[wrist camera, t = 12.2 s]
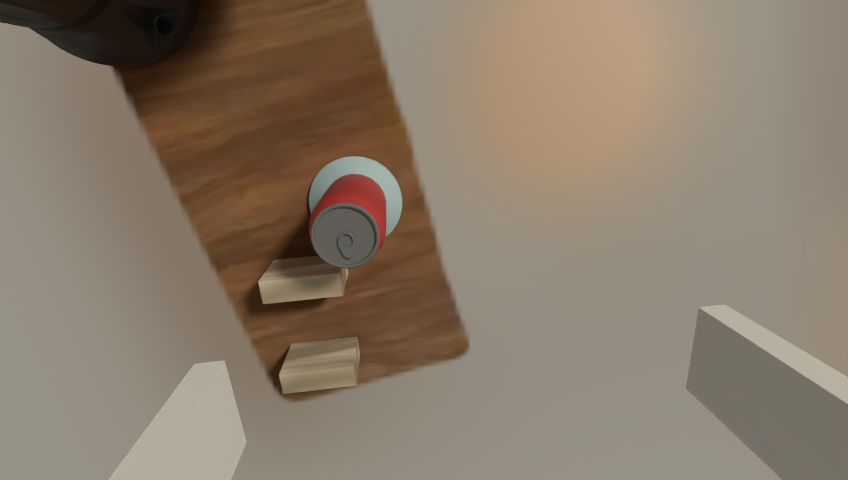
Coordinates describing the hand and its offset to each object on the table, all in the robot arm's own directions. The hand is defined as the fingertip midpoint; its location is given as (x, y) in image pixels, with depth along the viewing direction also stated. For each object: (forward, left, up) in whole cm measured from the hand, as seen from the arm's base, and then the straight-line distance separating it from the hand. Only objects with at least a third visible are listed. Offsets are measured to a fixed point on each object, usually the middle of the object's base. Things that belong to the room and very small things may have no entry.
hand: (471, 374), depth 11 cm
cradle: (+15, -12, -35) cm, 40 cm away
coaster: (+2, -6, -35) cm, 35 cm away
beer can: (+2, -6, -34) cm, 35 cm away
